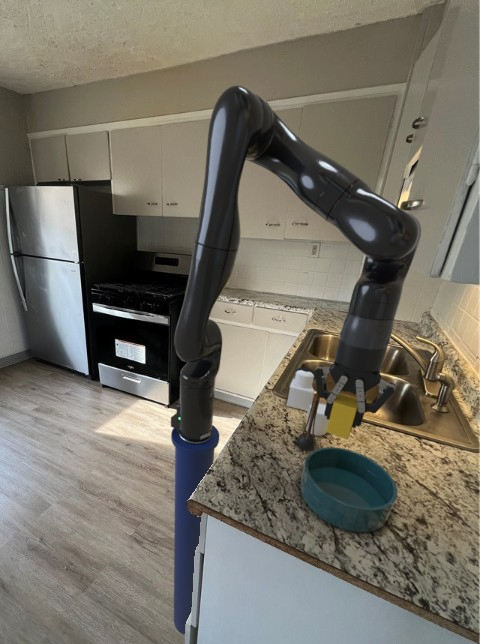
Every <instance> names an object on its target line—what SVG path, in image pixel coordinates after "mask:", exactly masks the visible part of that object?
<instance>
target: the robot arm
mask: <svg viewBox="0 0 480 644" xmlns="http://www.w3.org/2000/svg"><path fill="white" fill-rule="evenodd" d="M209 119H210V120H209V125H208V133H207V134H208V135H207V143H206V156H205V157H206V158H205V169H204V179H203V188H202V195H201V201H200V206H199V207H200V208H199V213H198V221H197V227H196V230H195V236H194V241H193V245H192V253H191V259H190V267H189V272H188V277H187V282H186V287H185V293H184V298H183V303H182V305H181V309H180V313H179V317H178V320H177V324H176V328H175V332H174V337H173V344H174V345H173V346H174V350H175V352H176V354H177V355H176V356H177V357H179V359H180V360H181V361H183V362H185V364H184V366H182V368H181V369H180V372H179V403H177V404H176V413H175V414H173V415H172V416H171V417H170V427H171V428H172V429H173V428H175V429H176V433H177V434H178V435H179V436H180V438H181V439H182V440H183V441H184V442H186V443H189V444H203V443H206V442H208V441H209V440H210V439H211V437H212V425H213V422H214V421H213V420H214V407H215V406H214V405H215V392H216V380H217V379H216V378H217V376H218V374H219V372H220V367H221V360H222V351H223V335H222V330H221V328H220V325H218V323H217V322H216V321H215V320H213V319H210V316H211V313H212V310H213V308H214V306H215V304H216V302H217V301H218V299H219V297H220V296H221V294H222V293H223V291H224V290H225V288H226V286H227V284H228V283H229V280H230V278H231V277H232V274H233V271H234V268H235V265H236V261H237V257H238V253H239V249H240V243H241V232H242V231H241V218H240V208H239V194H240V193H239V191H240V184H241V180H242V175H243V171H244V167H245V163H246V161H247V162H250V163H252V164H255V165H256V166H259V167H261V168H264V169H266V170H267V171H269V172H270V173H272V174H274V175H275V176H276V177H278V178H279V180H281V181H282V182H284V184H285V185H286V186H287V187H288V188H289V189H290V190H291V191H292V192H293V193H294V194H295V196H297V198H298V199H299V200H300V201H301V202H302V203H303V204H304V205H305V206H307V207H308V208H309V209H310V210H311V211H312V212H314V213H315V214H316V215H317V216H319V217H320V218H321V219H322V220H324V221H325V222H326V223H327V224H330V225H331V226H333V228H335V229H337V230H338V231H339V232H340V233H341V234H342V235H343V236H344V238H346V239H347V240H348V241H349V243H351V244H352V245H353V246H354V247H355V248H356V249H357V250H358V251H359V252H361V254H363V255H364V256H365V257H364V262H363V266H362V270H361V273H360V276H359V277H358V279H357V281H356V282H355V284H354V287H353V289H352V292H351V297H350V301H349V305H348V310H347V313H346V316H345V318H344V321H343V323H342V328H341V330H340V333H339V339H338V345H337V347H336V348H337V349H336V353H335V356H334V361H333V363H332V364H331V365H330V366H323V365H321V364H320V365H318V366H317V367H316V368H315V369H314V374H315V380H316V386H317V392H318V397H320V399H323V400H325V402H326V403H325V404H326V408H325V412H324V414H325V416H327V419H328V420H329V419H330V415H331V411H332V407H333V403H334V401H335V399H336V397H337V396H338V394H341V392H347V393H348V392H349V393H351V394H353V395H356V399H357V407H358V408H357V411H356V414H355V418H354V421H353V424H352V429H356V428H357V427H360V426H362V423H363V419H364V416H365V414H366V413H371V414H376V413H377V412H378V411H379V410H380V409H381V408H382V407H383V406H384V405H385V403H386V402H387V401H388V400H389V399H390V398H391V397H392V395H393V394H394V393H395V389H396V384H395V382H387V381H385V380H384V379H382V375H381V370H382V366H383V364H384V360H385V356H386V353H387V351H388V347H389V344H390V342H391V338H392V333H393V330H394V323H395V318H396V314H397V311H398V308H399V305H400V302H401V298H402V293H403V288H404V283H405V281H406V278H407V275H408V273H409V270H410V268H411V266H412V263H413V260H414V258H415V255H416V253H417V250H418V246H419V243H420V241H421V236H422V226H421V223H420V221H419V220H418V218H417V217H416V216H415V215H413V214H411V213H409V212H406V211H405V210H403V209H402V208H400V207H398V206H397V205H395V204H394V203H392V202H391V201H389V200H388V199H386V198H384V197H383V196H382V195H379V194H378V193H376V192H375V191H374V190H373V188H372V187H371V186H370V185H369V184H368V183H366V181H364V180H363V179H362V178H360V177H359V176H358V175H356V174H355V173H353V172H352V171H350V170H349V169H348V168H346V167H345V166H343V165H342V164H341V163H339V162H338V161H336V160H334V159H332V158H331V157H330V156H327V155H326V154H324V153H322V152H321V151H319V150H317V149H316V148H314V147H312V146H311V145H309V144H308V143H306V142H305V141H304V140H302V139H301V138H300V137H299V136H298V135H297V134H296V133H294V132H293V131H292V130H291V128H290V127H288V126H287V124H286V123H285V122H284V121H283V120H282V119H281V118H280V116H279V115H278V113H276V112H275V111H274V109H273V108H272V107H271V105H270V104H269V102H268V101H266V99H264V98H263V97H261V96H259V95H258V94H256V93H255V92H253V91H252V90H250V89H249V88H247V87H245V86H242V85H239V84H238V85H237V84H236V85H232V86H229V87H227V88H226V89H225V90H224V91H223V92H222V93H221V94H220V96H219V97H218V99H217V100H216V102H215V103H214V106H213V110H212V112H211V116H210V118H209ZM329 374H330V376H331V378H332V381H333V383H334V384H335V385H334V387H333V388H332V390H331V391H329V390H328V386H327V385H326V379H327V378H328V376H329ZM376 386H378V391H377V392H378V393H379V394H378V395H377V396H376V397H375V398H374V400H372V401H371V402H368V398H367V397H368V396H367V395H368V392H369V391H370V390H371V389H373V388H375V387H376Z"/></svg>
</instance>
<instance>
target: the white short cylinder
mask: <svg viewBox="0 0 480 644" xmlns="http://www.w3.org/2000/svg"><path fill="white" fill-rule="evenodd" d="M326 404H327V403H324V402H319V405H318V409H317V414H316V419H315V425H314V436H319V437H321V436H325V435H326V434H327V432H326V431H327V427H328V423H329V420H328V419H327V416H325V414H324V412H325V408H326ZM311 406H312V403H310V404H308V409H307V411H306V419H305V424H306V423H307V421H308V417H309V414H310V410H311ZM312 409H313V408H312ZM311 413H312V412H311ZM310 417H311V416H310ZM309 422H310V419H309ZM309 422H308V425H307V427H306V430H305V431H307V430H308V426H309ZM313 422H314V420H313ZM310 434H312V435H313V424H312V428H311V432H310Z"/></svg>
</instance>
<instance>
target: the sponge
mask: <svg viewBox="0 0 480 644" xmlns="http://www.w3.org/2000/svg"><path fill="white" fill-rule="evenodd" d="M357 408H358V407H357V398H355V397H351V396H347V395H344V394H341V393H339V394H338V396H337V397H336V399H335V401H334V403H333V407H332V411H331V415H330V419H329V423H328V427H327V431H326V434H331V435H334V436H336V437H339V438H342V439H345V440H349V437H350V435H351V432H352V430H353V428H352V424H353V421H354V418H355V414H356V411H357Z"/></svg>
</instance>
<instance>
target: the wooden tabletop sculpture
mask: <svg viewBox="0 0 480 644" xmlns="http://www.w3.org/2000/svg"><path fill="white" fill-rule="evenodd" d="M333 384H334V380H333V379H330V380H328V378H326V385H327V387H328V386H332V385H333ZM312 388H313V389H314V390H315V392H314V397H313V401H312V406H311V410H310V414H309V417H308V421H307V423H306V422H305V425H304V429H303V430H302V432H301V433H300V435H298V437H297V439H296V441H295V443H296V446H297V447H298V448H300V449H301V450H304V451H307V452H312V451H314V450H316V447H317V440H316V438H315V435H314V425H315V419H316V414H317V409H318V405H319V403H320V402H321V401H320V400H321V398H320V397H318V392H317V386H316V380H315V379H314V381H313V382H312ZM312 408H313V409H312ZM311 412H312V413H311ZM310 416H311V417H310ZM309 419H310V422H309ZM313 420H314V422H313ZM308 422H309V426H308V430H306V427H307V425H308ZM312 424H313V434H311V433H310V432H311V428H312Z"/></svg>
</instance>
